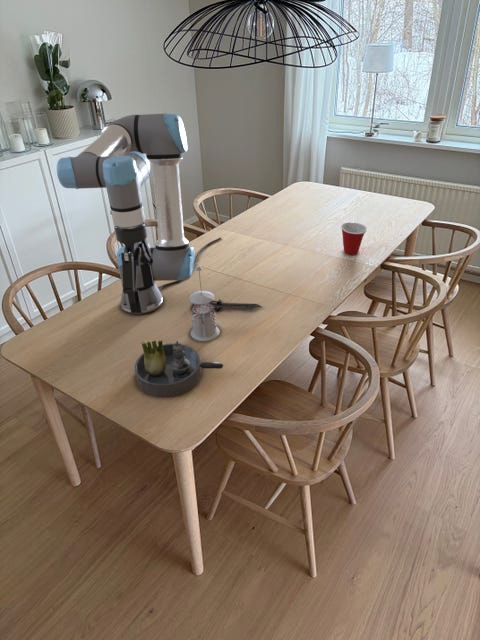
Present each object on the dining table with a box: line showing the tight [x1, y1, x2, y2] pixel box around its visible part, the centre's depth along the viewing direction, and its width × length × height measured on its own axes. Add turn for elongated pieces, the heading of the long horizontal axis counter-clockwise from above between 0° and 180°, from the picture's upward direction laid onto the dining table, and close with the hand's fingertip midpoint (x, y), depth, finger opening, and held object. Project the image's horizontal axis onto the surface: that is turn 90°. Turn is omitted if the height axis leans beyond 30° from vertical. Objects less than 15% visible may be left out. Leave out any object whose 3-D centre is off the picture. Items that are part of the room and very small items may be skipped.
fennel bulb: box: [141, 338, 166, 376], centre depth 137 cm, size 6×5×12 cm
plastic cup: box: [340, 221, 368, 256], centre depth 200 cm, size 11×11×12 cm
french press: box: [188, 265, 220, 342], centre depth 151 cm, size 10×12×25 cm
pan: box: [134, 343, 203, 398], centre depth 140 cm, size 19×19×4 cm
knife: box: [191, 299, 263, 313], centre depth 170 cm, size 25×6×1 cm, turn 78°
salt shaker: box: [170, 340, 191, 379], centre depth 137 cm, size 6×6×12 cm
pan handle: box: [200, 361, 224, 370], centre depth 138 cm, size 7×2×2 cm, turn 86°
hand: (143, 298), depth 126 cm, fingers open, 13 cm apart
